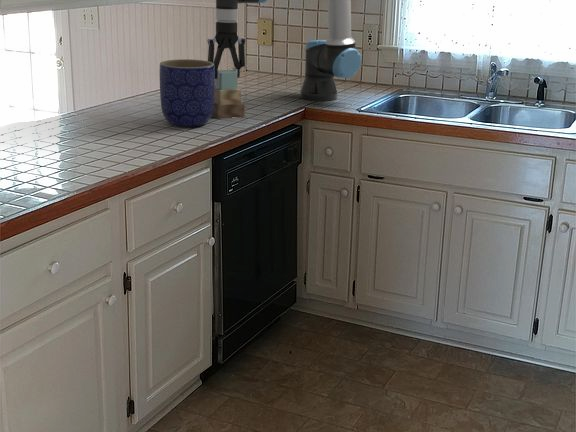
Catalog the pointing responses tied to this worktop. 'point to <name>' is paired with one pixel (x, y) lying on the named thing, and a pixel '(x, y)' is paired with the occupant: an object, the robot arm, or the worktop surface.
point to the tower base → (228, 110)
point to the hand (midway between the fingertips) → (226, 87)
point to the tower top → (227, 96)
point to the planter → (187, 91)
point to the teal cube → (228, 80)
